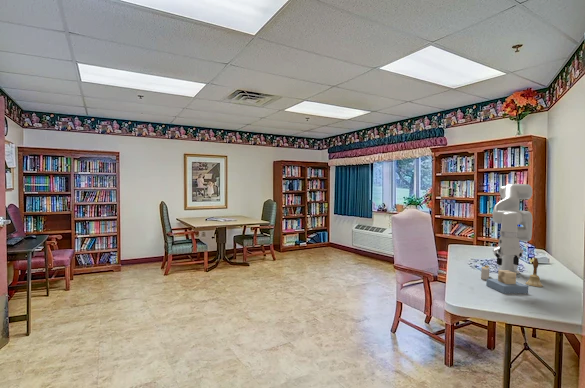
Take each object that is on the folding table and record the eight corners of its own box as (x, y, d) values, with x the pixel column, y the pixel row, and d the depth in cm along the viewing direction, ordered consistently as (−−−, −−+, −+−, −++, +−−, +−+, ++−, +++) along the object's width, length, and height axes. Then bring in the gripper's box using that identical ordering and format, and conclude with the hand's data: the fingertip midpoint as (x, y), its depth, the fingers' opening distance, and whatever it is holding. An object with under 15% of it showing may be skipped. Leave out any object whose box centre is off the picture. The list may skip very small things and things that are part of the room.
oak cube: (497, 280, 185) (498, 270, 185) (507, 280, 186) (508, 270, 186) (505, 283, 179) (505, 273, 179) (515, 284, 180) (516, 273, 180)
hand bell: (540, 284, 195) (542, 257, 195) (544, 287, 188) (546, 260, 187) (524, 281, 199) (525, 256, 198) (527, 285, 191) (528, 258, 191)
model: (481, 279, 203) (481, 267, 203) (483, 276, 211) (483, 264, 211) (486, 280, 201) (487, 268, 201) (489, 277, 209) (489, 265, 209)
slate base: (486, 285, 189) (486, 278, 189) (509, 285, 190) (509, 278, 190) (503, 293, 175) (503, 286, 175) (528, 293, 176) (528, 286, 176)
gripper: (498, 235, 178) (497, 266, 178) (528, 235, 179) (527, 266, 180) (489, 233, 185) (488, 263, 186) (518, 233, 186) (517, 262, 187)
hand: (507, 264), depth 183 cm, fingers open, 9 cm apart
